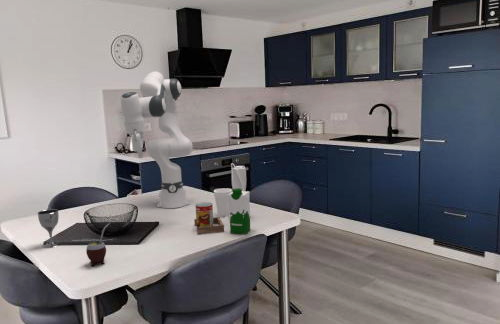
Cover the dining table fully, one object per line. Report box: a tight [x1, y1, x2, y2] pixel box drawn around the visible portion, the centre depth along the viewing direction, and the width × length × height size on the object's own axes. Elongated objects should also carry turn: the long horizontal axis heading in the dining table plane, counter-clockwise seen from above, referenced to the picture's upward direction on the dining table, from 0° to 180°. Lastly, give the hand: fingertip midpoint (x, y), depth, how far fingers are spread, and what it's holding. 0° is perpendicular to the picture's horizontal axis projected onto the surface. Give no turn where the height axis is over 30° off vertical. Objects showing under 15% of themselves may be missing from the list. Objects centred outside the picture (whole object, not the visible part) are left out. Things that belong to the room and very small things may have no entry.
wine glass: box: [37, 208, 59, 249], centre depth 182 cm, size 8×8×15 cm
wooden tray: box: [193, 216, 225, 236], centre depth 198 cm, size 14×12×3 cm
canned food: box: [195, 201, 215, 228], centre depth 197 cm, size 8×8×12 cm
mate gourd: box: [85, 222, 111, 267], centre depth 159 cm, size 8×8×15 cm
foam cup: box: [213, 187, 233, 217], centre depth 219 cm, size 10×9×13 cm
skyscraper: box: [230, 163, 247, 191], centre depth 211 cm, size 8×8×28 cm
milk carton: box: [228, 188, 251, 235], centre depth 191 cm, size 9×9×20 cm
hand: (140, 157), depth 197 cm, fingers closed
